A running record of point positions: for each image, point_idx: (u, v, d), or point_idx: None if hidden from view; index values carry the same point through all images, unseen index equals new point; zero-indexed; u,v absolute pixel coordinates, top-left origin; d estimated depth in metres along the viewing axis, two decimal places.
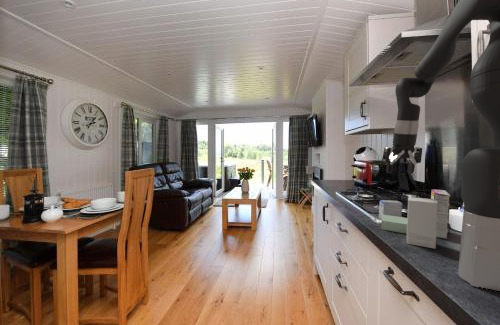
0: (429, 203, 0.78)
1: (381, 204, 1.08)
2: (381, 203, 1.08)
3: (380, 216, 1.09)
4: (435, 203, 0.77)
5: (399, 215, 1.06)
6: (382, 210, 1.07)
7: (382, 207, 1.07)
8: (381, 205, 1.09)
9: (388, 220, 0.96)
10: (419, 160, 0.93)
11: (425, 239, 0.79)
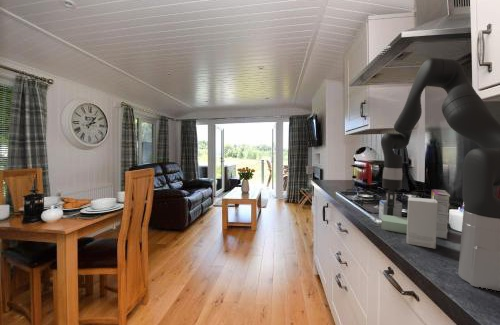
0: (429, 203, 0.78)
1: (381, 204, 1.08)
2: (381, 203, 1.08)
3: (380, 216, 1.09)
4: (435, 203, 0.77)
5: (399, 215, 1.06)
6: (382, 210, 1.07)
7: (382, 207, 1.07)
8: (381, 205, 1.09)
9: (388, 220, 0.96)
10: None
11: (425, 239, 0.79)
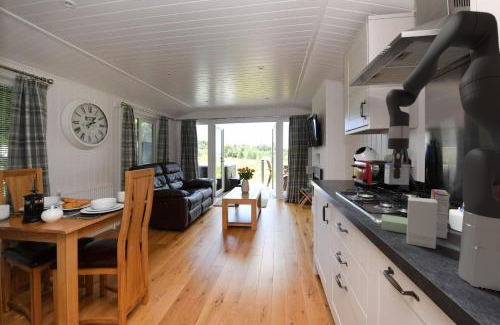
0: (429, 203, 0.78)
1: (387, 167, 1.00)
2: (387, 165, 1.00)
3: (386, 180, 1.01)
4: (435, 203, 0.77)
5: (406, 177, 0.98)
6: (388, 173, 0.99)
7: (388, 169, 0.99)
8: (386, 168, 1.01)
9: (388, 220, 0.96)
10: None
11: (425, 239, 0.79)
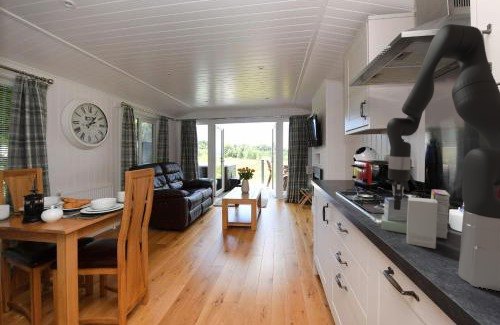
0: (429, 203, 0.78)
1: (386, 202, 0.98)
2: (386, 200, 0.98)
3: (385, 215, 0.99)
4: (435, 203, 0.77)
5: (406, 214, 0.95)
6: (387, 208, 0.97)
7: (387, 205, 0.97)
8: (386, 203, 0.98)
9: (388, 220, 0.96)
10: None
11: (425, 239, 0.79)
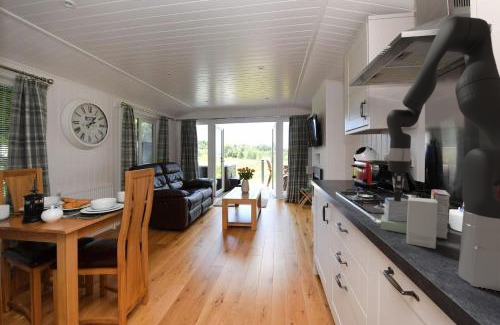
0: (429, 203, 0.78)
1: (386, 202, 0.98)
2: (386, 201, 0.98)
3: (385, 215, 0.99)
4: (435, 203, 0.77)
5: (407, 214, 0.95)
6: (387, 208, 0.96)
7: (387, 205, 0.97)
8: (386, 203, 0.98)
9: (387, 220, 0.96)
10: None
11: (425, 239, 0.79)
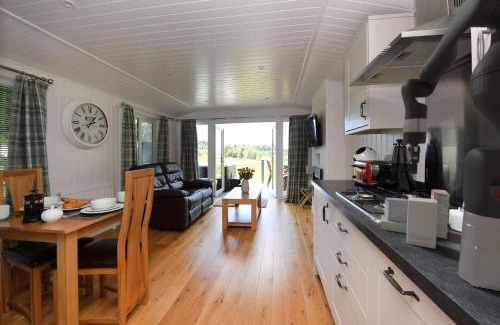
0: (429, 203, 0.78)
1: (386, 202, 0.98)
2: (386, 201, 0.98)
3: (385, 215, 0.99)
4: (435, 203, 0.77)
5: (407, 215, 0.95)
6: (387, 209, 0.97)
7: (387, 205, 0.97)
8: (386, 203, 0.98)
9: (387, 221, 0.96)
10: None
11: (425, 239, 0.79)
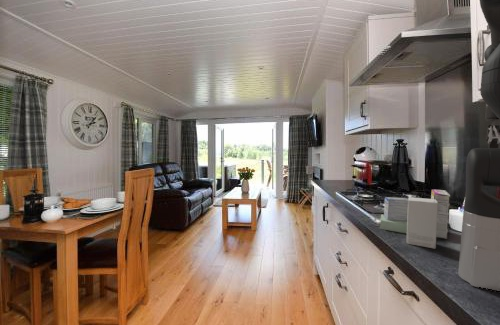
0: (429, 203, 0.78)
1: (386, 201, 0.98)
2: (386, 200, 0.98)
3: (385, 215, 0.99)
4: (435, 203, 0.77)
5: (406, 214, 0.95)
6: (387, 208, 0.97)
7: (387, 204, 0.97)
8: (386, 202, 0.99)
9: (387, 220, 0.96)
10: None
11: (425, 239, 0.79)
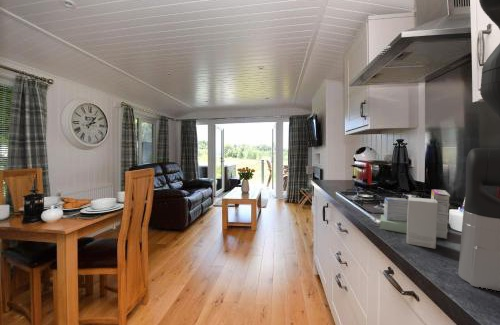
0: (429, 203, 0.78)
1: (386, 201, 0.99)
2: (386, 200, 0.99)
3: (385, 215, 0.99)
4: (435, 203, 0.77)
5: (406, 214, 0.95)
6: (386, 208, 0.97)
7: (386, 205, 0.98)
8: (385, 202, 0.99)
9: (387, 220, 0.96)
10: None
11: (425, 239, 0.79)
